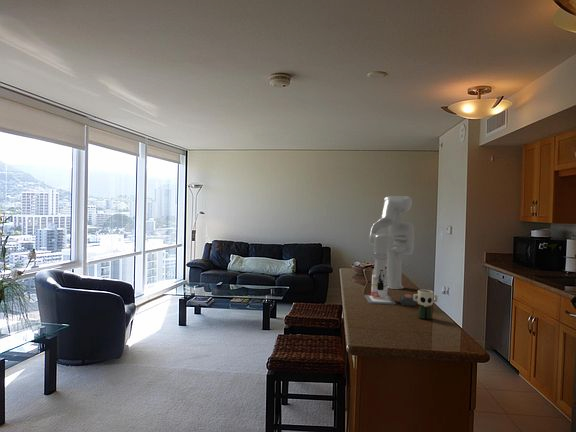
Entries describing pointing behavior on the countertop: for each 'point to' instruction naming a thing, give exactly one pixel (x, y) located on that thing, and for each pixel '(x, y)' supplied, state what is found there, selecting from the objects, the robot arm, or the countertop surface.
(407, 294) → the button
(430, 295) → the character mug
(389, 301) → the drawing board
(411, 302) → the button housing
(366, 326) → the countertop surface
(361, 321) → the countertop surface
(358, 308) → the countertop surface
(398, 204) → the robot arm
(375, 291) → the ink cartridge box
